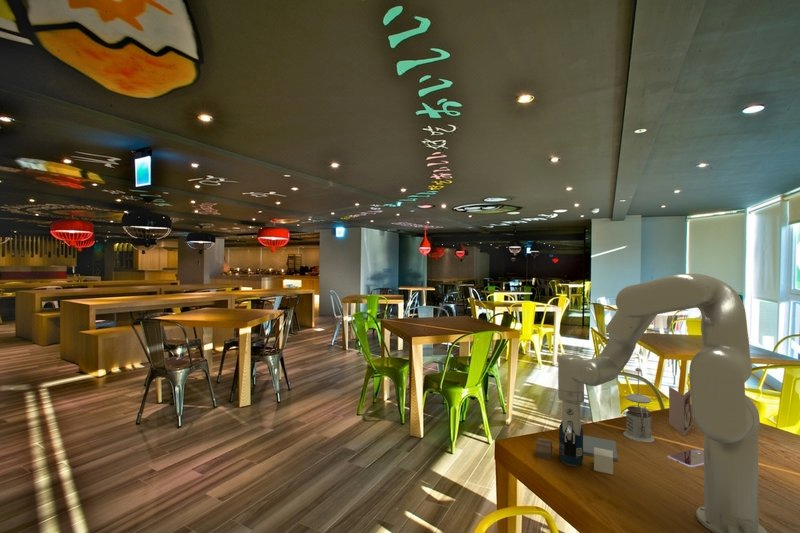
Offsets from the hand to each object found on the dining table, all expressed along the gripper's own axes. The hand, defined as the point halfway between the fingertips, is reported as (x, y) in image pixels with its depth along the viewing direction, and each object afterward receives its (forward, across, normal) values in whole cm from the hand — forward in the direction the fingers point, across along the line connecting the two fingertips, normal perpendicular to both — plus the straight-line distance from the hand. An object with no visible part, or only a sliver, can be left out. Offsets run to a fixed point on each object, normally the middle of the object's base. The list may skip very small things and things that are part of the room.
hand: (570, 449), depth 118 cm
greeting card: (+4, +48, -35) cm, 60 cm away
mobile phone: (+4, +22, -35) cm, 42 cm away
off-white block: (+4, 0, -9) cm, 10 cm away
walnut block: (+4, 0, +8) cm, 9 cm away
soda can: (+4, 0, 0) cm, 4 cm away
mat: (+4, +14, -6) cm, 16 cm away
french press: (+4, +32, -21) cm, 38 cm away
